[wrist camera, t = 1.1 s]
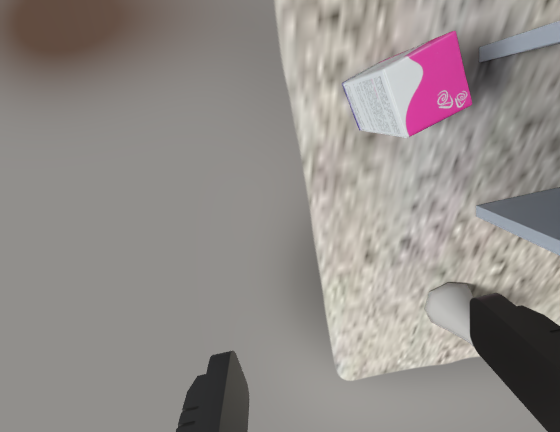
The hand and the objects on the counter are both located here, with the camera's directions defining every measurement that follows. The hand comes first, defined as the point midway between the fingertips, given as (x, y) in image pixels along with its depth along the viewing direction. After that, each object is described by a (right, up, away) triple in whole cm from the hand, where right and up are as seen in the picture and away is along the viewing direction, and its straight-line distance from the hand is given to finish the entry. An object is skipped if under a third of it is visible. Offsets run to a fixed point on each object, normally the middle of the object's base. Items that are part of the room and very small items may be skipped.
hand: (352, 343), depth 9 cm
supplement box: (+8, +18, +22) cm, 30 cm away
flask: (+22, -8, +32) cm, 40 cm away
